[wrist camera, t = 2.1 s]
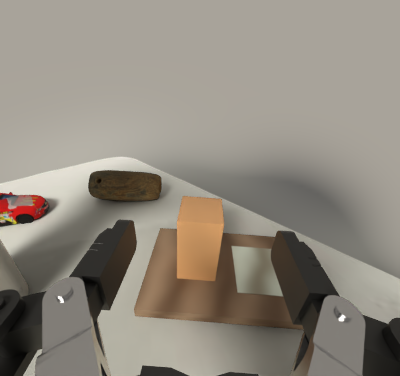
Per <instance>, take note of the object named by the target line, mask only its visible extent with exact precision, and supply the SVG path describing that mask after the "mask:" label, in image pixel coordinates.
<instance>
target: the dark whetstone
mask: <svg viewBox="0 0 400 376" xmlns="http://www.w3.org/2000/svg"><path fill="white" fill-rule="evenodd" d="M88 188H89V192H90V194H91V195H92V196H93V197H96V198H100V199H108V200H130V201H143V200H154V199H158V198H159V194H160V192H161V177H160V176H159V175H156V174H152V173H144V172H130V171H112V170H105V171H96V172H93V173H92V174H91V175H90V178H89V185H88Z"/></svg>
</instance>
